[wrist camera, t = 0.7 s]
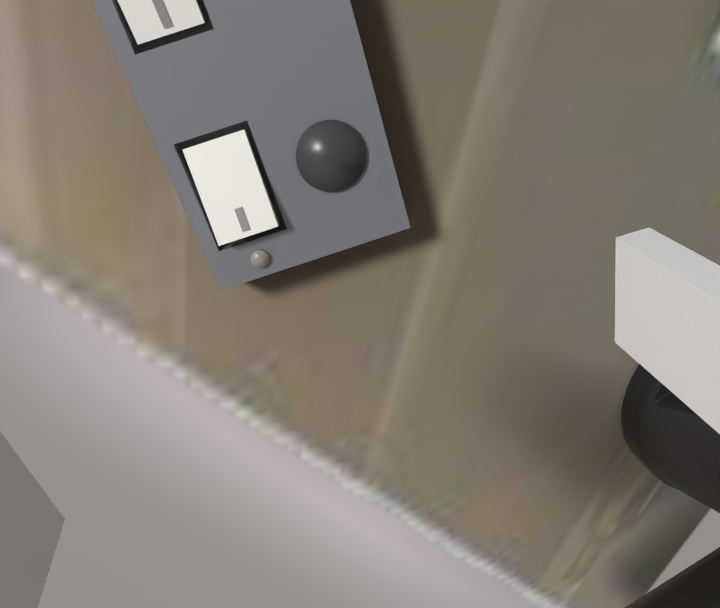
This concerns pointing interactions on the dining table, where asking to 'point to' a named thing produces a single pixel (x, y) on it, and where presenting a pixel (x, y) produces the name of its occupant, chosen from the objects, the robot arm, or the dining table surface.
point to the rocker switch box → (270, 123)
